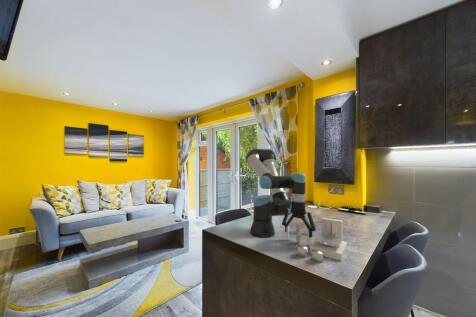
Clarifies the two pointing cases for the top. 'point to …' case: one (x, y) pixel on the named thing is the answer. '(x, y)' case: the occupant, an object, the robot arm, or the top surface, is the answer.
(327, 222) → the scale base
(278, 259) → the top surface
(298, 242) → the cream toy jack
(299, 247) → the cylinder
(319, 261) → the cylinder
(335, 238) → the pan
